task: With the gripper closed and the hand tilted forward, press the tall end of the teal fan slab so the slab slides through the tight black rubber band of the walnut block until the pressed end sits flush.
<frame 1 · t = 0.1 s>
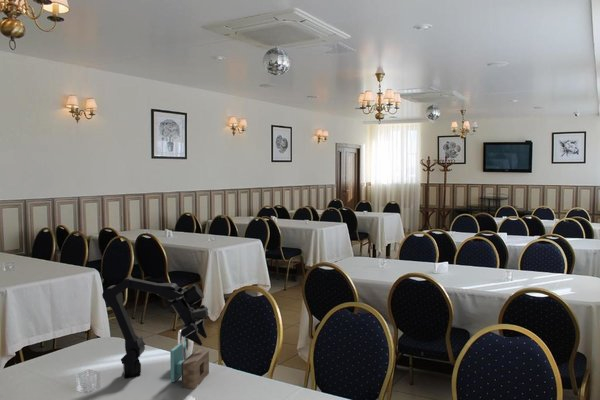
hand: (203, 341, 219), 15 cm above the table, tool tilted 35°, fingers open, 9 cm apart
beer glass: (186, 364, 234), on the table
teal fan slab: (183, 362, 216), point 7 cm above the table, slide at 4.5 cm
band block: (195, 380, 216), on the table
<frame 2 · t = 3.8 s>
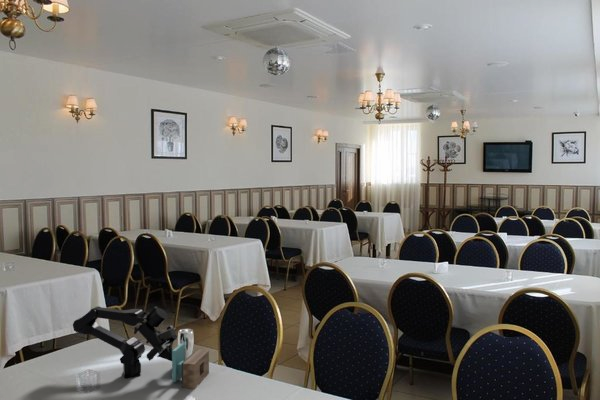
hand: (176, 361, 217), 7 cm above the table, tool tilted 45°, fingers closed, pressing on teal fan slab
teal fan slab: (184, 362, 216), point 7 cm above the table, slide at 3.8 cm, touching gripper
everything else where it was.
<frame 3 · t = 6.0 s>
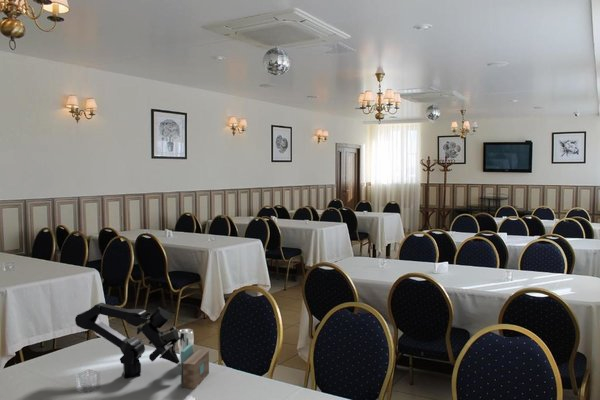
hand: (178, 362, 217), 7 cm above the table, tool tilted 45°, fingers closed
teal fan slab: (193, 363, 215), point 7 cm above the table, slide at 0.0 cm
everything else where it was.
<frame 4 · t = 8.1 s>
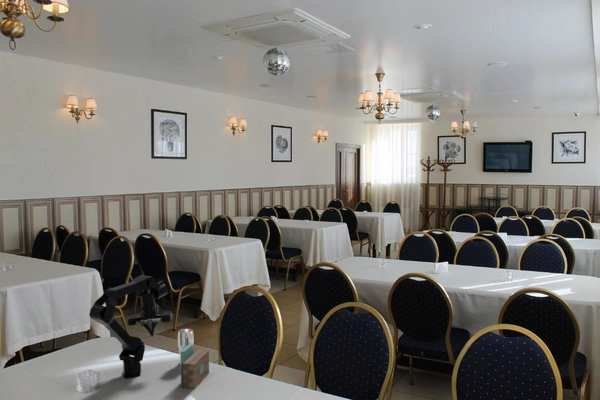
hand: (152, 335, 231), 13 cm above the table, tool pointing down, fingers closed
nothing on the table moved.
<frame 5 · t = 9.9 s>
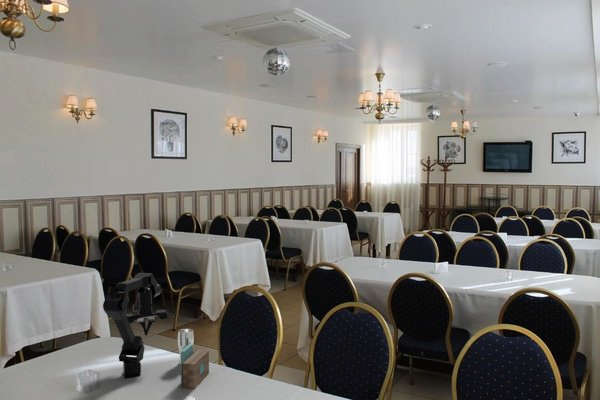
hand: (145, 335, 233), 13 cm above the table, tool pointing down, fingers closed
nothing on the table moved.
at the end: teal fan slab slide at 0.0 cm; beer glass moved 0.2 cm from its start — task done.
